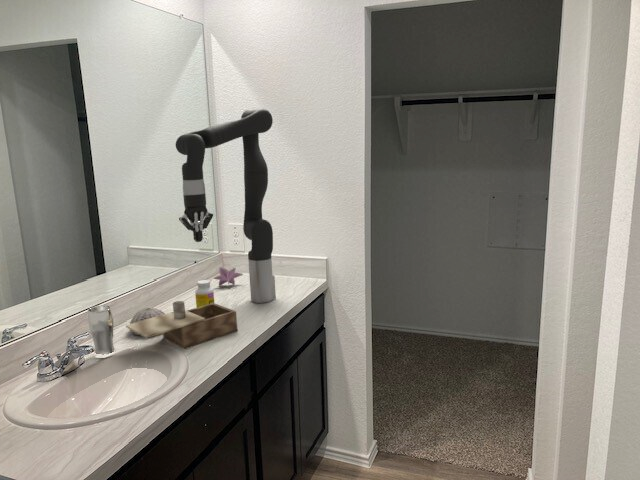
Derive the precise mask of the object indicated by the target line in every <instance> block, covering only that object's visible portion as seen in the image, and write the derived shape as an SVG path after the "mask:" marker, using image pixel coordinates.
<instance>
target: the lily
mask: <svg viewBox="0 0 640 480" xmlns="http://www.w3.org/2000/svg"><path fill="white" fill-rule="evenodd" d="M218 270H219V275H217V276H215V277H213V278H212V280H218V286H219V285H220V286H222V285H224V284H225V283H228V288H229V290H231V285H230V284H232V285H235V284H236V282H235V279H237V278H239V277H240V276H243V275H244V274H243V273H242V272H237V271H236V267H234V268H232V269H230V270H228V269H227V268H224V267H219V269H218Z"/></svg>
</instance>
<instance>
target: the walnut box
mask: <svg viewBox="0 0 640 480" xmlns="http://www.w3.org/2000/svg"><path fill="white" fill-rule="evenodd" d="M186 311H189V312H191V313H194V314H196V315H198V316H201V317H203V318H205V320H203V321H200V322H197V323H194V324H190V325H187V326H184V327H181V328H177V329H174V330H171V331H168V332H164V333H162V335H163V337H162V338H163V339H165V340H167V341H169V342H171V343H173V344H175V345H176V346H178V347H180V348H183V349H185V350H186V349H189V348H191V347H194V346H197V345H200V344H203V343H206V342H209V341H212V340H215V339H218V338H220V337H223V336H227V335H230V334H232V333H236V332H238V319H237V311H236V310H234V309H231V308H228V307H226V306H223V305H220V304H217V303H215V302H214V303H212V304H208V305H205V306H201V307H198V308H197V307H195V308H192V309H188V310H186Z"/></svg>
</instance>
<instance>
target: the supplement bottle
mask: <svg viewBox="0 0 640 480" xmlns="http://www.w3.org/2000/svg"><path fill="white" fill-rule="evenodd" d="M196 285H197V288H196V289H195V291H194V292H195V294H194V295H195V305H196V307H195V308H198V307H201V306H205V305H208V304H212V303H215V293H214V288H213V287H211V281H210V280H209V279H208V280H207V279H203V280H198V281H197V284H196Z"/></svg>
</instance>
